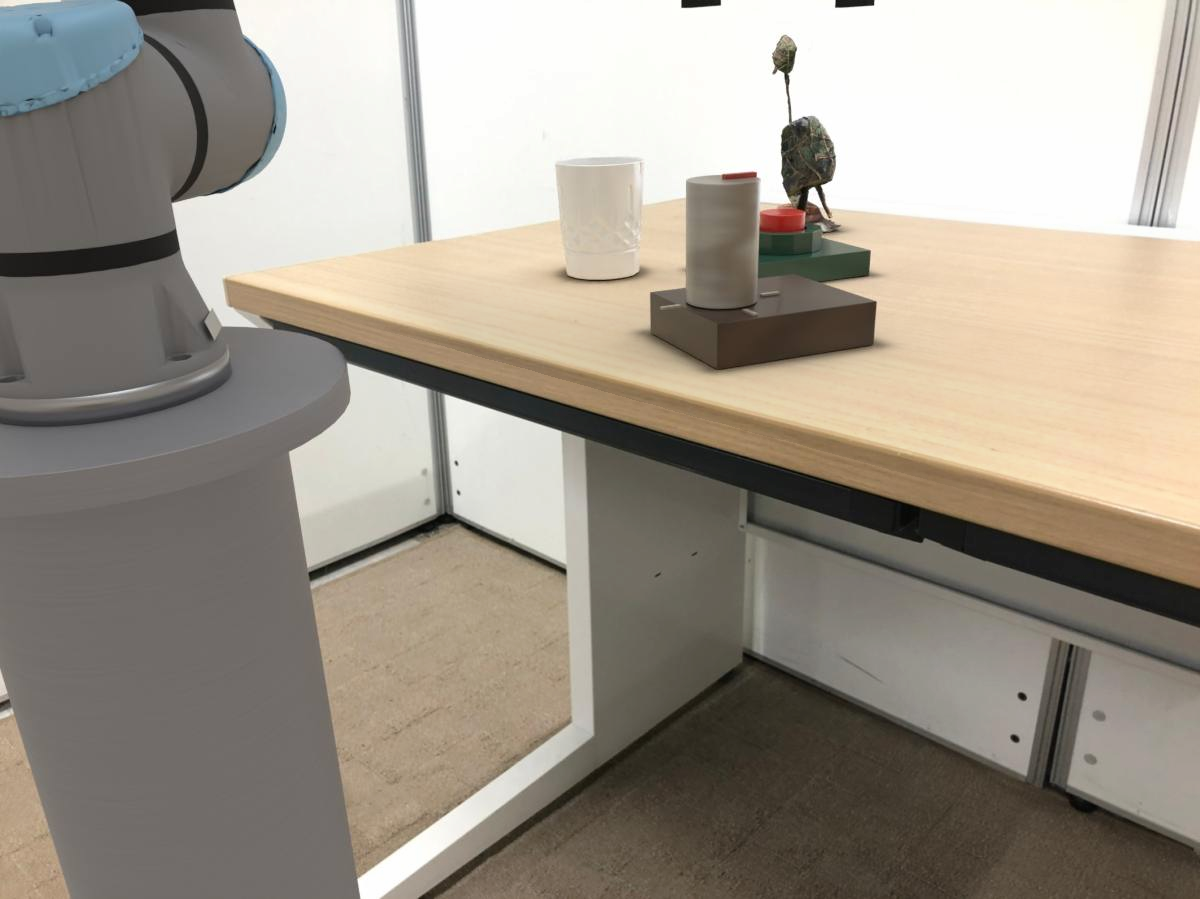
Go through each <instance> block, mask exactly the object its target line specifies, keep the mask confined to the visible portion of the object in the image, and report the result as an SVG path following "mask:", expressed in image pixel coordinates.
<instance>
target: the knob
mask: <svg viewBox="0 0 1200 899" xmlns="http://www.w3.org/2000/svg"><path fill="white" fill-rule="evenodd" d="M761 184H762V180H761V178H760V177H759V176H758V172H757V171H742V172H741V171H740V172H730V173H729V172H728V173H722V174H712V175H699V176H693V177H689V178H687V179H686V180H685V288H686V302H687V303H688V304H690V305H692V306H696V307H700V308H708V309H734V308H742V307H747V306H750V305H753V304H755V303H756V302H757V289H758V255H759V222H760V211H761V188H762V186H761Z"/></svg>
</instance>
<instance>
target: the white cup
mask: <svg viewBox="0 0 1200 899" xmlns="http://www.w3.org/2000/svg"><path fill="white" fill-rule="evenodd" d="M644 164H645V160H644V159H643V157H637V156H628V155H627V156H626V155H623V156H622V155H599V156H598V155H597V156H582V157H570V158H564V159H559V160H556V161H554V171H555V181H556V192H557V204H558V214H559V215H558V216H559V224H560V225H559V226H560V231H561V242H562V246H563V247H564V249H563V250H564V260H565V271H566V275H567V276H569V277H570V278H571V277H572V278H575V279H580V280H589V281H590V280H592V281H593V280H594V281H595V280H596V281H597V280H598V281H599V280H600V281H602V280H605V281H606V280H616V279H623V278H629V277H631V276H634V275H636V274H638V273H639V272H640V255H641V253H640V251H641V250H640V249H641V247H640V244H641V241H642V226H643V224H642V223H643V210H644V209H643V207H644V205H643V204H644V171H645V170H644V167H645V165H644Z"/></svg>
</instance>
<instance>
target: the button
mask: <svg viewBox="0 0 1200 899" xmlns="http://www.w3.org/2000/svg"><path fill="white" fill-rule="evenodd" d="M759 230H761V231H769V232H794V231H802V230H805V211H802V210H798V209H777V208H770V209H763V210H760V222H759Z"/></svg>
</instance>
